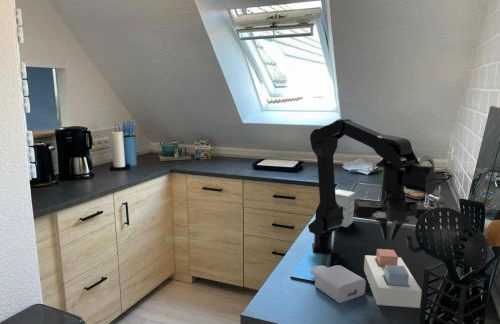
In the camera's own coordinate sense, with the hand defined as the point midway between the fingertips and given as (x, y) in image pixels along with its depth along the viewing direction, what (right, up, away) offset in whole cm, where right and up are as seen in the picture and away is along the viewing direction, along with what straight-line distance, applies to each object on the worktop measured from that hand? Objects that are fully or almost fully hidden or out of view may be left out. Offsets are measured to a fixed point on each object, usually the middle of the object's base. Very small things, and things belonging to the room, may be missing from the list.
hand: (388, 240), depth 104 cm
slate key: (-1, -10, -8) cm, 13 cm away
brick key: (0, -8, +2) cm, 8 cm away
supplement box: (-2, -3, +45) cm, 45 cm away
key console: (-1, -12, -3) cm, 12 cm away
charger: (-16, -12, -2) cm, 20 cm away
